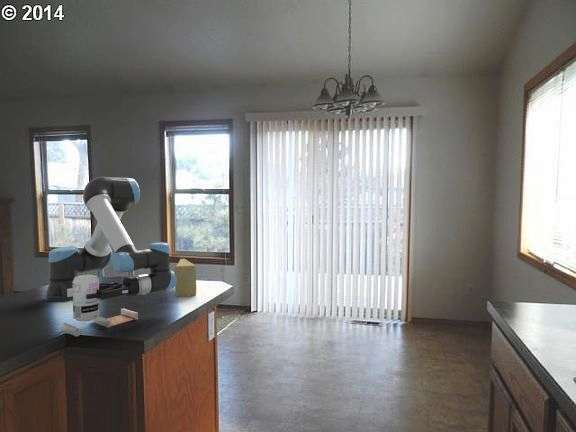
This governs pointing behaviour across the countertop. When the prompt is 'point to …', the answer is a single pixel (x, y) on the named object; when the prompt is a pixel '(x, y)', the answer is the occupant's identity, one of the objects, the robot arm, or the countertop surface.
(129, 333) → the countertop surface
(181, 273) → the cheese
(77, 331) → the rack with upright dividers
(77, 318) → the sparkling water can
